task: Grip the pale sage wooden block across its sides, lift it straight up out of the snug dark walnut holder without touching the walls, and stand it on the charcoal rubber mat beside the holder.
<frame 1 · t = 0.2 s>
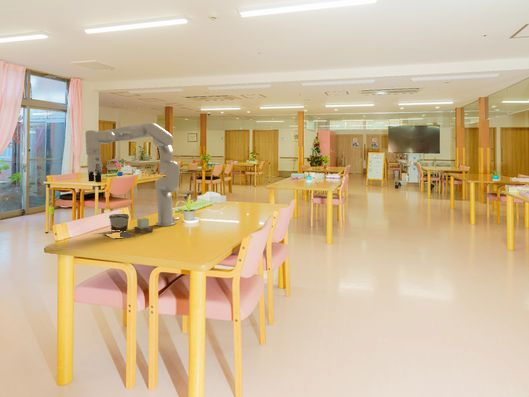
hand: (94, 181, 228), 31 cm above the table, tool pointing down, fingers open, 9 cm apart
charcoal mat: (118, 235, 227), on the table
walnut holder: (143, 232, 237), on the table
sage block: (143, 225, 236), in the walnut holder
food container: (121, 230, 241), on the table
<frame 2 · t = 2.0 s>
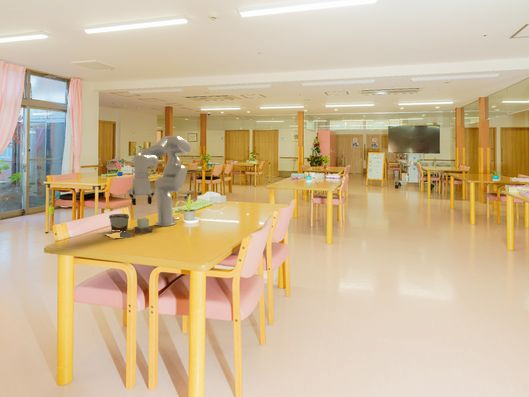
hand: (141, 204, 234), 17 cm above the table, tool pointing down, fingers open, 9 cm apart
nothing on the table moved.
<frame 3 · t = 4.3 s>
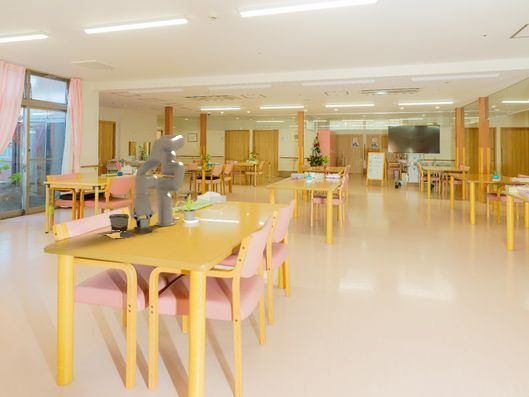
hand: (143, 226, 236), 4 cm above the table, tool pointing down, fingers closed on sage block, 5 cm apart
sage block: (143, 225, 236), in the walnut holder, touching gripper
everything else where it was.
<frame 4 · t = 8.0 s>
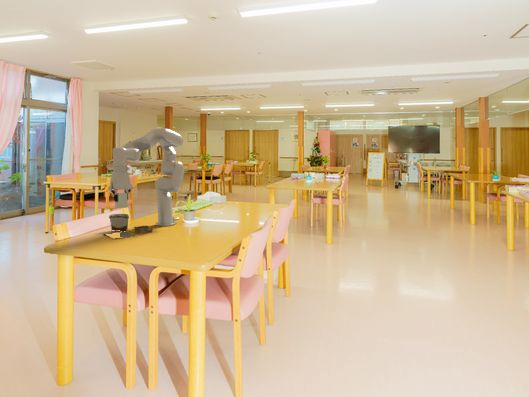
hand: (121, 200, 225), 20 cm above the table, tool pointing down, fingers closed on sage block, 5 cm apart
sage block: (121, 200, 225), point 20 cm above the table, touching gripper
everything else where it was.
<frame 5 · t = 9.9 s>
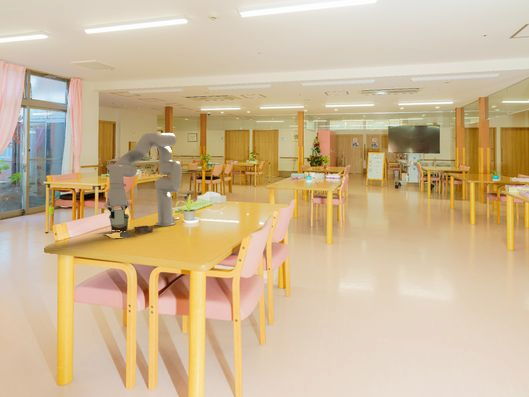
hand: (117, 217, 225), 11 cm above the table, tool pointing down, fingers closed on sage block, 5 cm apart
sage block: (117, 216, 225), point 11 cm above the table, touching gripper
everything else where it was.
when the fingers open (5 cm above the table, at t = 11.7 s): sage block drops 1 cm, resting on charcoal mat.
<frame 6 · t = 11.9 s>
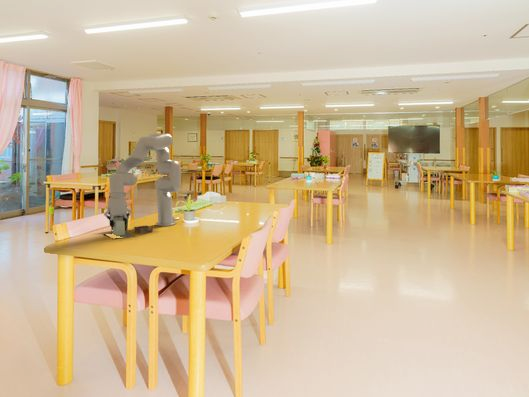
hand: (118, 225, 226), 6 cm above the table, tool pointing down, fingers open, 6 cm apart
sage block: (118, 227, 226), on the charcoal mat
everything else where it was.
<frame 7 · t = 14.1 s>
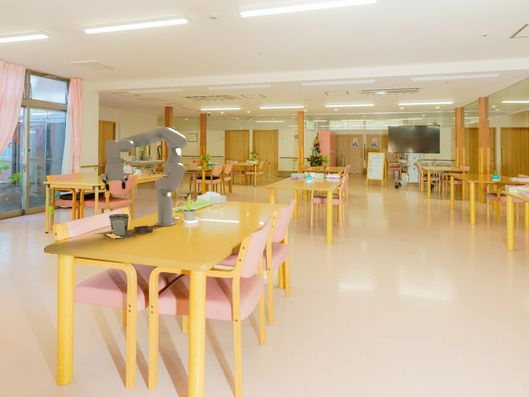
hand: (115, 189, 234), 26 cm above the table, tool pointing down, fingers open, 9 cm apart
nothing on the table moved.
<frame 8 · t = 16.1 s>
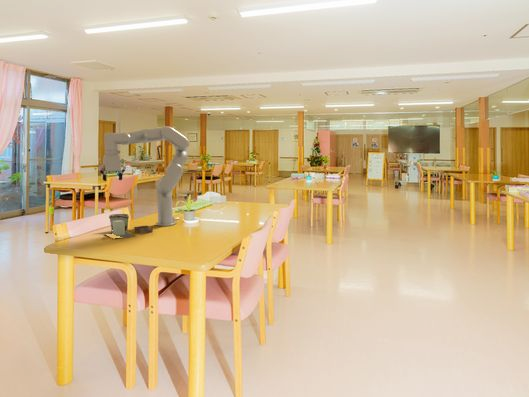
hand: (112, 180, 245), 30 cm above the table, tool pointing down, fingers open, 9 cm apart
nothing on the table moved.
at the end: sage block inside the target area on the charcoal mat (0.1 cm from its centre), point 4.5 cm above the charcoal mat's base; sage block tilted 0°; sage block touching charcoal mat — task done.
